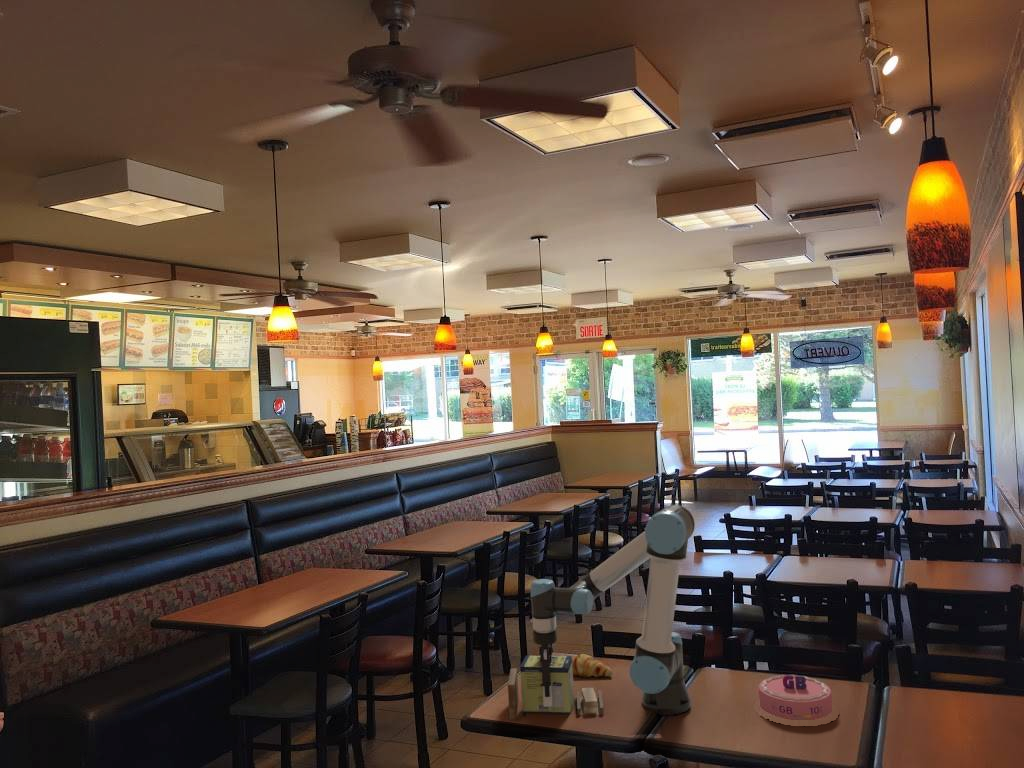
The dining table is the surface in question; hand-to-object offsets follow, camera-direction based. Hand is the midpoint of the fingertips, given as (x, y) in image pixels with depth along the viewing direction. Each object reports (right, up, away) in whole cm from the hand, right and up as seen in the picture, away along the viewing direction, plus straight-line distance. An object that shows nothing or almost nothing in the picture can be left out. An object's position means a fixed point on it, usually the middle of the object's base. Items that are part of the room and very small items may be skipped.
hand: (548, 698), depth 252 cm
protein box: (0, -4, 0) cm, 4 cm away
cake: (+75, 0, -9) cm, 76 cm away
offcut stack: (+13, -2, -1) cm, 13 cm away
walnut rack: (+3, -3, 0) cm, 5 cm away
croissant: (+14, -3, +30) cm, 33 cm away
